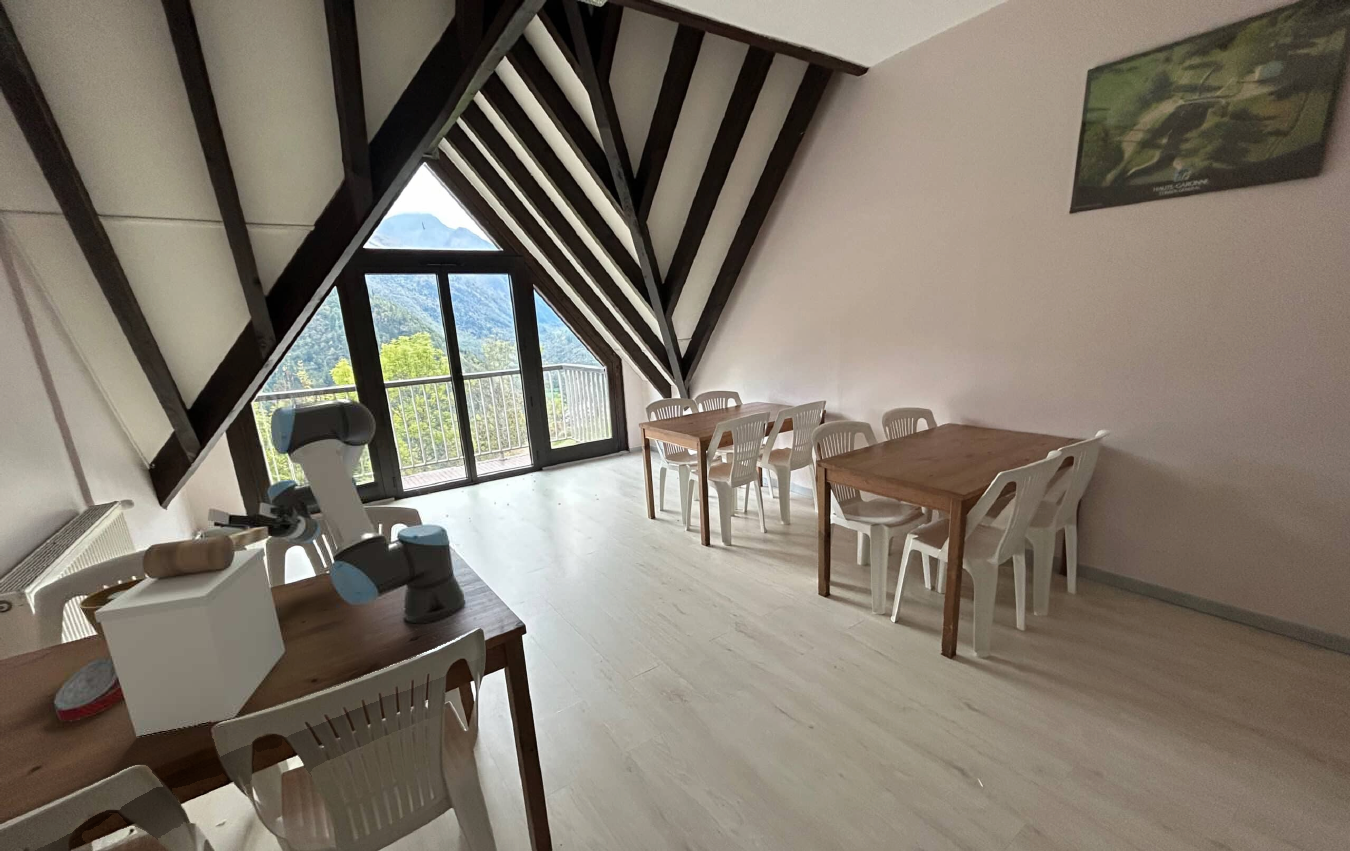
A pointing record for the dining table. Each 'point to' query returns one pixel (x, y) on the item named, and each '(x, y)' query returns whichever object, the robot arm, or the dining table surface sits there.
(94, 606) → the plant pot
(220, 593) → the pedestal
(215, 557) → the mallet
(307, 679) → the dining table surface
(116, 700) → the canned food
